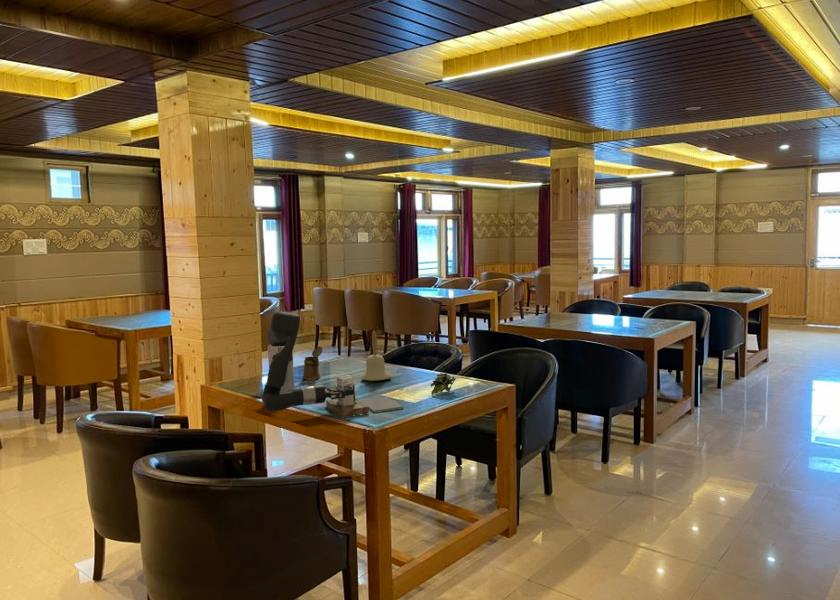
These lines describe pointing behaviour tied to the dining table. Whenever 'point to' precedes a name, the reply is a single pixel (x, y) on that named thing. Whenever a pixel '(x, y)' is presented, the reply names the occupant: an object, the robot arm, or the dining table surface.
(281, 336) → the robot arm
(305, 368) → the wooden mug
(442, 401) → the dining table surface
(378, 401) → the slate tile
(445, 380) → the green leafy plant
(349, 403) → the syrup box
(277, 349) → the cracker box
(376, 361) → the handbell
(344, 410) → the pocket block
